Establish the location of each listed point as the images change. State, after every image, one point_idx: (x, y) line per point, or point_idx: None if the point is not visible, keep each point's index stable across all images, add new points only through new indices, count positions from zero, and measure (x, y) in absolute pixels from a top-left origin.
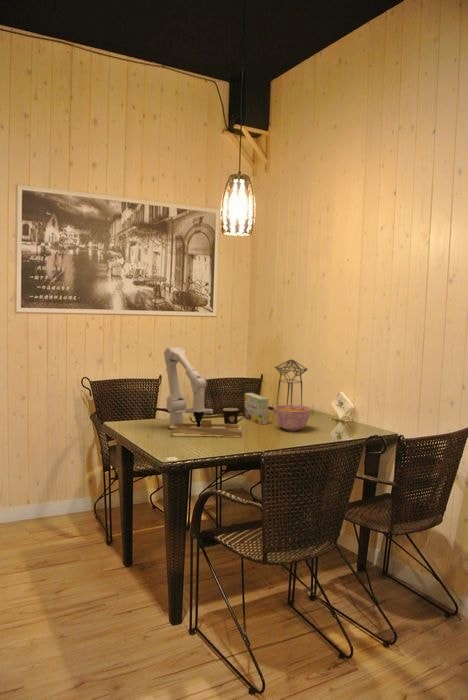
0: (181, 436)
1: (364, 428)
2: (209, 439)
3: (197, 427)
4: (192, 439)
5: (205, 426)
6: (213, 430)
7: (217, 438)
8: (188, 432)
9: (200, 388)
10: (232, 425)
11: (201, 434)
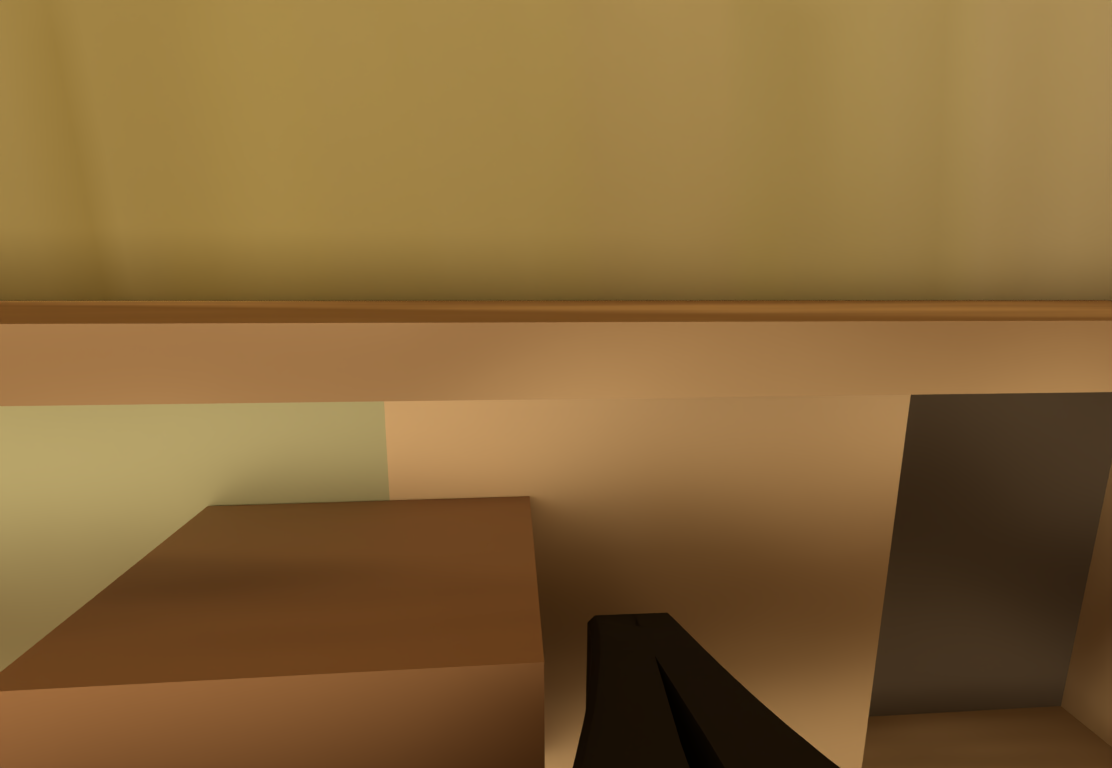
0: None
1: None
2: (257, 20)
3: None
4: (720, 8)
5: (365, 556)
6: (56, 319)
7: (48, 151)
8: (890, 306)
9: None
10: None
11: (505, 303)
